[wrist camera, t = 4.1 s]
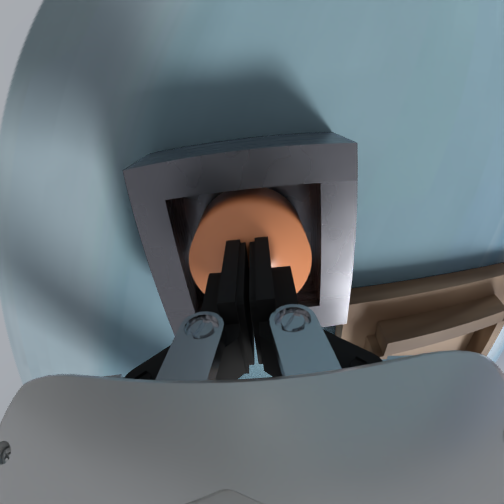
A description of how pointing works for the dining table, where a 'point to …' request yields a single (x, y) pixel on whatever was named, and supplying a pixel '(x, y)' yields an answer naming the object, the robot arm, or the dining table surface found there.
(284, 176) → the button housing
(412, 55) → the dining table surface
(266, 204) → the button
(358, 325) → the tan flat square tray
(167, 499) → the robot arm
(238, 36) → the dining table surface
